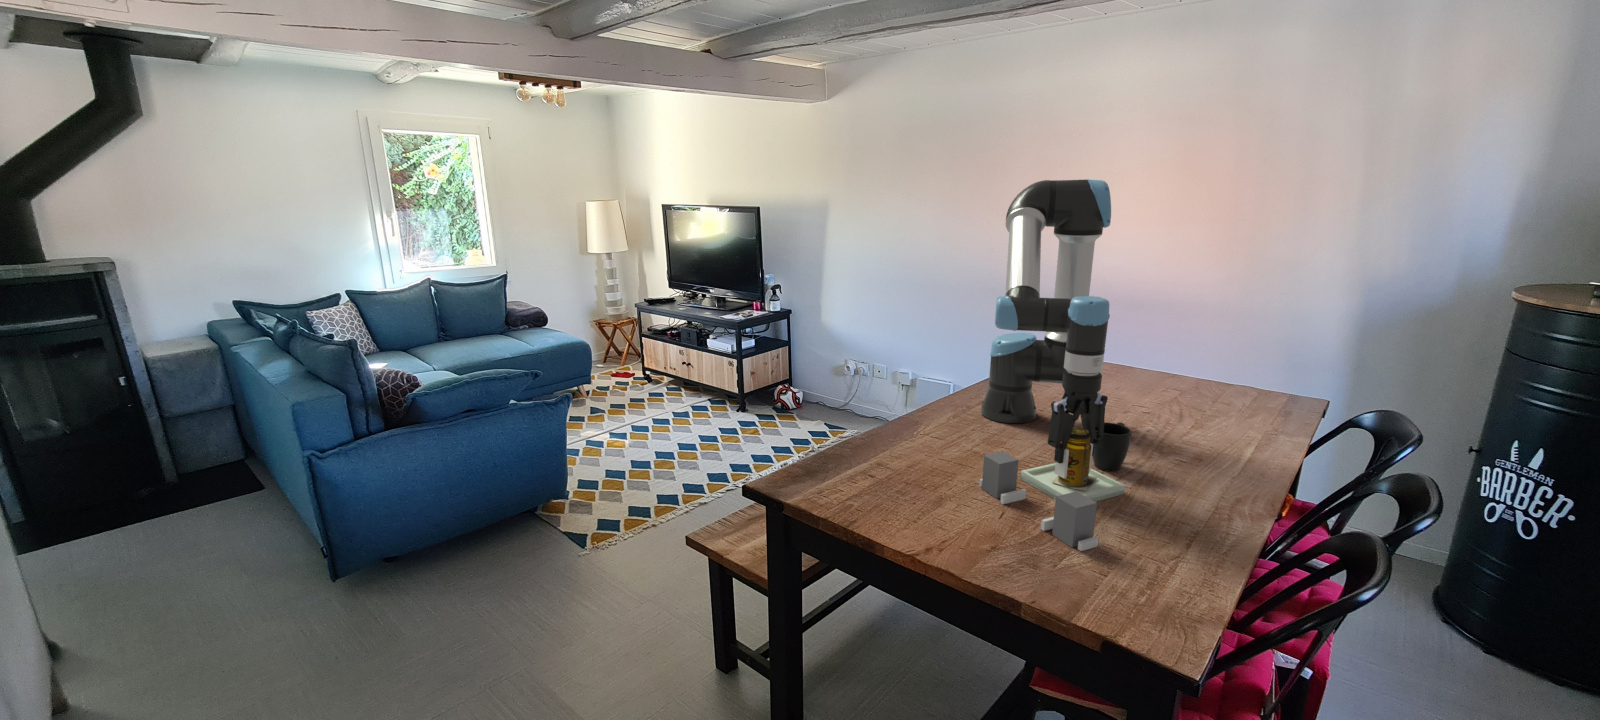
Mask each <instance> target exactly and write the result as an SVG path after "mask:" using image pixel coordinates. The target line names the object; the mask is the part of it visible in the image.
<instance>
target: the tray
mask: <svg viewBox="0 0 1600 720" xmlns="http://www.w3.org/2000/svg"><path fill="white" fill-rule="evenodd" d="M1055 463H1056V462H1054V463H1050V464H1045V465H1041V466H1036V467H1031V468H1028V469H1023V470H1020V477H1019V478H1020V480H1021V481H1023V482H1025V483H1027V484H1028V485H1029V486H1032V487H1034V488H1035V489H1037V490H1039V491H1040V492H1042V493H1044V494H1046V495H1047V496H1049V497H1050V498H1052V499H1054V500H1056V496H1060V495H1064V494H1068V493H1072V492H1076V491H1077V492H1078V493H1080V494H1082V495H1084V496H1086V497H1088V498H1089V499H1091V500H1093V501H1095V502H1098V501H1102V500H1103V501H1104V500H1107V499H1110V498H1114V497H1118V496H1122V495H1125V492H1126V484H1124V483H1121V482H1119V481H1117V480H1115V479H1113V478H1112V477H1109V476H1107V475H1105V474H1104V473H1101V472H1099V471H1097V470H1095V469H1092V468H1091V469H1090V472H1089V474H1088V475H1089V476H1093V477H1098V478H1097V479H1096V480H1095V481H1094V482H1093V484H1092V485H1091V486H1090V487H1089V488H1088V489H1087V490H1086V491H1082V490H1079V489H1073V488H1070V487H1066V486H1062V485H1059V484H1056V483H1052V481H1053V480H1054V479H1055V478H1056V477H1057V476H1058V475H1056V474H1055Z"/></svg>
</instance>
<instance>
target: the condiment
mask: <svg viewBox="0 0 1600 720" xmlns="http://www.w3.org/2000/svg"><path fill="white" fill-rule="evenodd" d="M1090 436H1091V434H1090V432H1089V431H1088V430H1087V429H1084V428H1082V427H1077V426H1074V427H1073V430H1072V433H1071V436H1070V439H1069V441H1068V444H1067V447H1066V448H1067V449H1069V457H1068V467H1067V477H1066V478H1062V477H1060V476H1057V477H1056V478H1055V479H1054V480H1053V481H1052V483H1056V484H1059V485H1062V486H1066V487H1070V488H1073V489H1079V490H1082V491H1086V490H1087V489H1088V488H1089V487H1090V486H1091V485H1092V484H1093V482H1094V481H1095V480H1096V479H1097V478H1098V477H1093V476H1089V475H1088V474H1089V464H1090V455H1091V444H1090ZM1061 443H1062V442H1061Z"/></svg>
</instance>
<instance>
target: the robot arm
mask: <svg viewBox="0 0 1600 720" xmlns="http://www.w3.org/2000/svg"><path fill="white" fill-rule="evenodd" d="M1111 197H1112V196H1111V192H1110V186H1109V184H1108V182H1106V181H1105V180H1102V179H1089V178H1087V179H1086V178H1085V179H1062V180H1061V179H1060V180H1057V179H1055V180H1050V179H1046V180H1040V181H1036V182H1034V183H1032V184H1030V185H1028V186H1027V187H1025V188H1023V190H1021V191H1020V192H1019V193H1018V194H1017V195H1016V197H1014V198H1013V200H1012V201H1011V203H1010V205H1009V206H1008V209H1007V212H1006V214H1005V215H1006V216H1005V228H1006V230H1007V232H1008V247H1007V248H1008V249H1007V262H1006V263H1007V264H1006V279H1005V294H1004V295H1002V296H1001V295H1000V296H998V297H997V298H996V303H995V305H996V306H995V316H994V325H995V327H996V328H998V329H1000V330H1005V331H1006V330H1007V331H1023V332H1012V333H1006V334H1005V333H1004V334H1001V335H999V336H996V337H995V338H994V339H993V340H992V342H991V347H990V348H991V350H990V353H989V356H990V365H989V376H988V377H989V379H988V388H987V391H986V393H985V396H984V399H983V401H982V403H981V405H980V415H982V416H983V417H984V418H986V419H989V420H990V421H991V420H992V421H994V422H999V423H1006V424H1007V423H1008V424H1024V423H1030V422H1032V421H1034V420H1036V418H1037V406H1036V403H1035V399H1034V395H1033V391H1032V389H1033V382H1036V383H1037V382H1038V383H1049V384H1050V383H1052V384H1061V386H1062V388H1063V390H1064V393H1063V395H1062V398H1061V400H1059V401H1054V400H1052V401H1051V403H1050V407H1051V417H1050V422H1049V431H1048V437H1047V445H1048V446H1051V447H1053V448H1054V458H1053V460H1054V463H1055V474H1056V475H1058V476H1060V477H1062V478H1066V477H1067V467H1068V457H1069V449H1067V448H1066V447H1067V444H1068V441H1069V439H1070V436H1071V433H1072V430H1073V427H1075V424H1076V422H1077V421H1078V420H1079V417H1080V420H1081V426H1082V427H1081V428H1084V429H1087V430H1088V431H1089V432H1090V434H1091V436H1090V444H1091V455H1090V464H1089V472H1090V469H1092V468H1091V466H1092V461H1093V454H1094V445H1095V444H1096V445H1098V444H1099V442H1100V441H1099V440H1098V439H1102V438H1103V435H1104V423H1105V414H1106V405H1107V402H1108V400H1109V399H1108V397H1109V396H1108V395H1107V396H1106V395H1104V394H1101V393H1099V392H1100V391H1101V389H1102V380H1103V379H1102V378H1103V374H1102V372H1103V369H1104V361H1105V360H1104V359H1105V352H1106V351H1105V347H1106V343H1107V342H1106V341H1107V333H1108V325H1109V319H1110V316H1111V315H1110V301H1109V300H1107V298H1105V297H1104V298H1103V297H1101V296H1095V295H1090V291H1091V281H1092V271H1093V264H1094V262H1093V261H1094V256H1095V255H1094V254H1095V244H1096V240H1098V239H1099V238H1100V237H1101V236H1103V230H1104V228H1109V227H1110V225H1111V218H1112V199H1111ZM1045 227H1046V228H1048V227H1050V228H1051V227H1053V235H1054V236H1055V237H1056V238H1057V239H1058V248H1057V249H1058V250H1057V251H1058V252H1057V260H1056V261H1057V262H1056V263H1057V264H1056V275H1055V281H1054V282H1055V283H1054V292H1053V293H1054V296H1053V297H1040V296H1041V295H1040V291H1041V252H1042V251H1041V248H1042V246H1041V245H1042V232H1043V230H1044V229H1045ZM1025 331H1027V332H1045V333H1044V339H1037V336H1036V335H1035V334H1034V333H1027V332H1025ZM1096 431H1098V432H1096ZM1061 442H1062V443H1061Z"/></svg>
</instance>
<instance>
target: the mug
mask: <svg viewBox="0 0 1600 720" xmlns="http://www.w3.org/2000/svg"><path fill="white" fill-rule="evenodd" d="M1096 432H1098V431H1096ZM1131 438H1132V430H1131V429H1130V428H1129V427H1128V426H1126V425H1125V424H1124V423H1123V422H1121V421H1120V422H1117V423H1114V422H1104V435H1103V438H1102V439H1098V440H1099V441H1100V442H1099V444H1098V445H1096V444H1095V445H1094V454H1093V456H1092V461H1093V465H1094V467H1095V468H1096V469H1099V470H1101V471H1104V472H1105V471H1106V472H1118V471H1120V470H1121V467H1122V466H1123V464H1124V461H1125V459H1126V457H1127V454H1128V452H1129V449H1130V445H1131Z"/></svg>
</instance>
